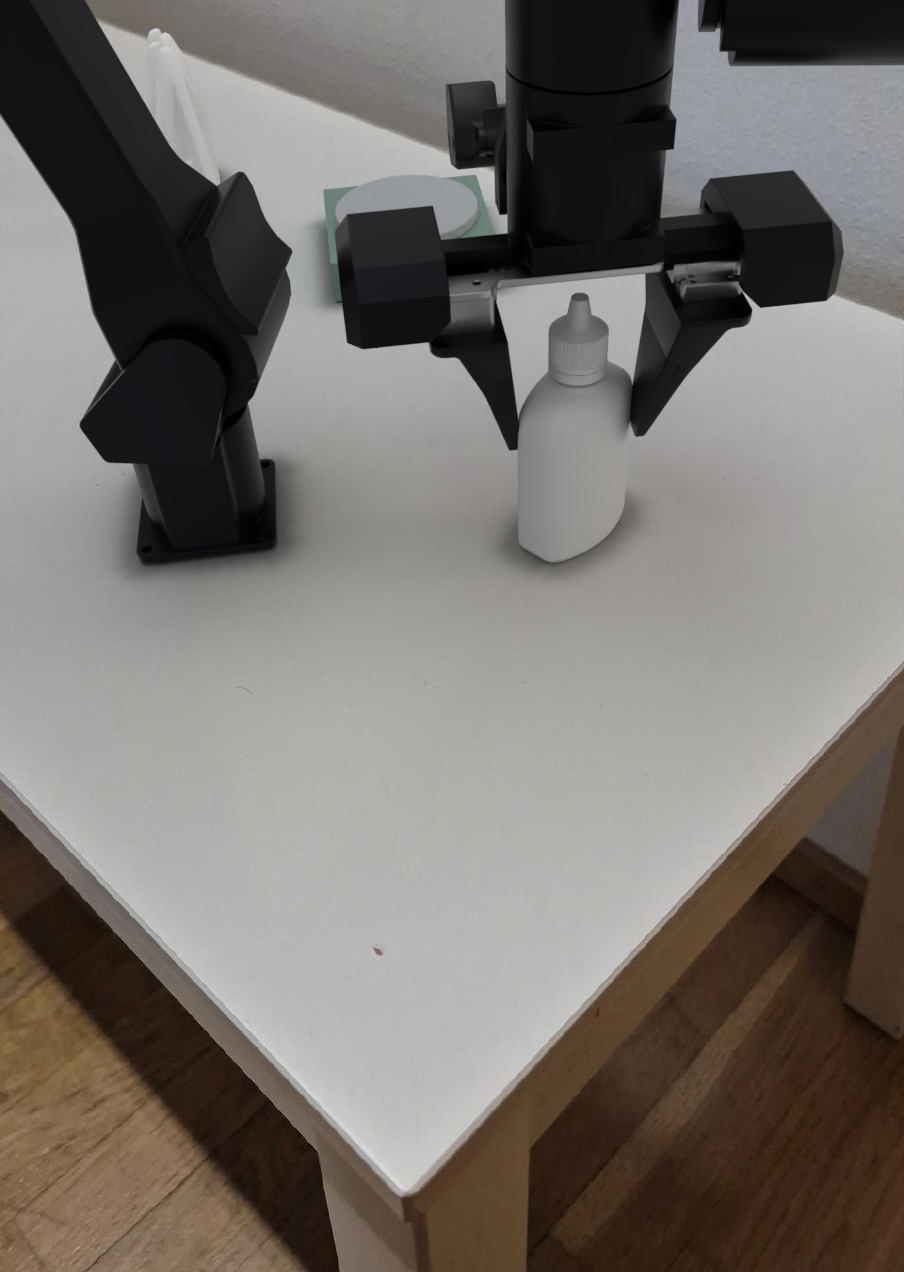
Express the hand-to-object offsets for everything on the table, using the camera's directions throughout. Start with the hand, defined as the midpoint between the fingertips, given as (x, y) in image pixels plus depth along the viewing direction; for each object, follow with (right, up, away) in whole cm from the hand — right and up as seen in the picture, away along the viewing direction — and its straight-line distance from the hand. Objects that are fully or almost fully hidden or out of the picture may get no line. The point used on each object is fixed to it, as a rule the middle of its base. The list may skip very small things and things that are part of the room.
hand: (575, 437), depth 51 cm
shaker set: (-23, +21, +29) cm, 43 cm away
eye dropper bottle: (0, -4, +4) cm, 5 cm away
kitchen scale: (-8, +16, +23) cm, 29 cm away
